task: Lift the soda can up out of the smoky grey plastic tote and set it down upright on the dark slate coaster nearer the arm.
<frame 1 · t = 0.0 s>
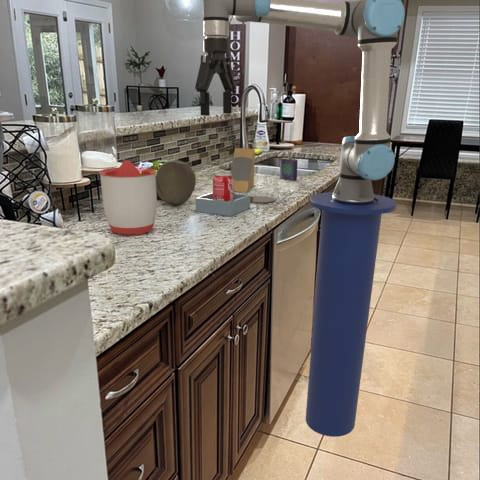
hand: (216, 114, 157), 31 cm above the countertop, tool pointing down, fingers open, 13 cm apart
coaster: (259, 200, 186), on the countertop
dark purple green box: (288, 179, 227), on the countertop
citrus juicer: (133, 230, 147), on the countertop
soda can: (223, 210, 171), resting in tote
sandwich container: (240, 188, 206), on the countertop
tote: (223, 209, 171), on the countertop
cantaloupe: (176, 205, 177), on the countertop
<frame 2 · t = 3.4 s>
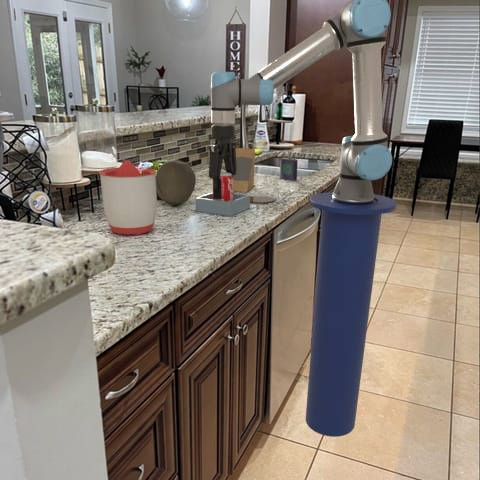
hand: (223, 196, 169), 5 cm above the countertop, tool pointing down, fingers closed on soda can, 7 cm apart
soda can: (223, 210, 171), resting in tote, touching gripper
everything else where it was.
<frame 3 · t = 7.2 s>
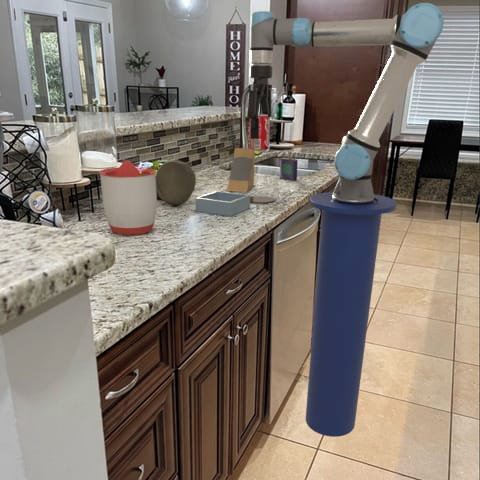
hand: (259, 137, 176), 22 cm above the countertop, tool pointing down, fingers closed on soda can, 7 cm apart
soda can: (259, 151, 178), point 18 cm above the countertop, touching gripper
everything else where it was.
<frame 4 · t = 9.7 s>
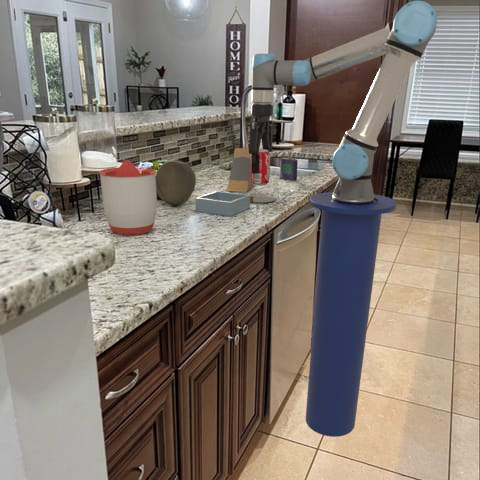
hand: (260, 171, 182), 10 cm above the countertop, tool pointing down, fingers closed on soda can, 7 cm apart
soda can: (259, 184, 183), point 6 cm above the countertop, touching gripper
everything else where it was.
when the fingers open (5 cm above the countertop, at t = 11.4 s): soda can stays where it is, resting on coaster.
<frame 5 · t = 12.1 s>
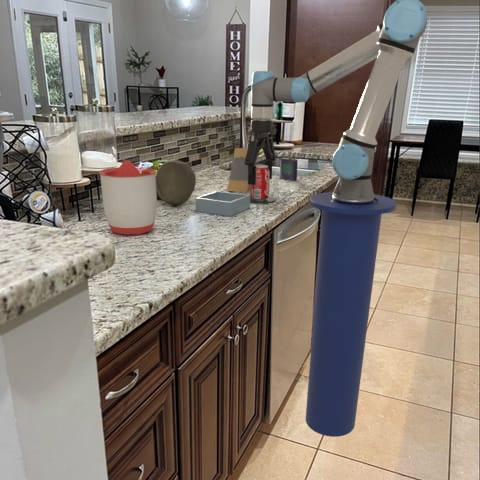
hand: (260, 181, 183), 7 cm above the countertop, tool pointing down, fingers open, 13 cm apart
soda can: (259, 199, 186), resting on coaster
everything else where it was.
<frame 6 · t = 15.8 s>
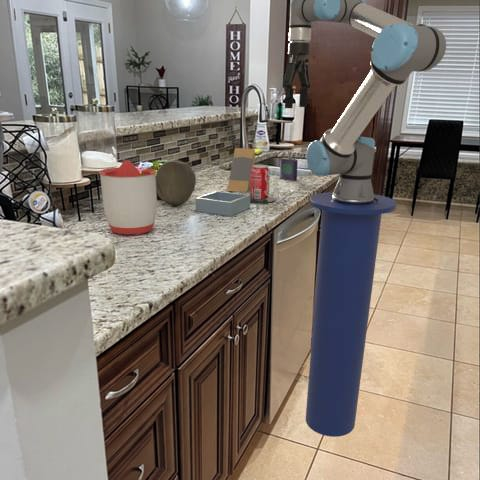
hand: (295, 107, 183), 32 cm above the countertop, tool pointing down, fingers open, 13 cm apart
nothing on the countertop moved.
at the end: soda can 0.1 cm off-centre on the coaster, point 0.2 cm above the coaster's base; soda can tilted 0°; the gripper is holding nothing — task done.
